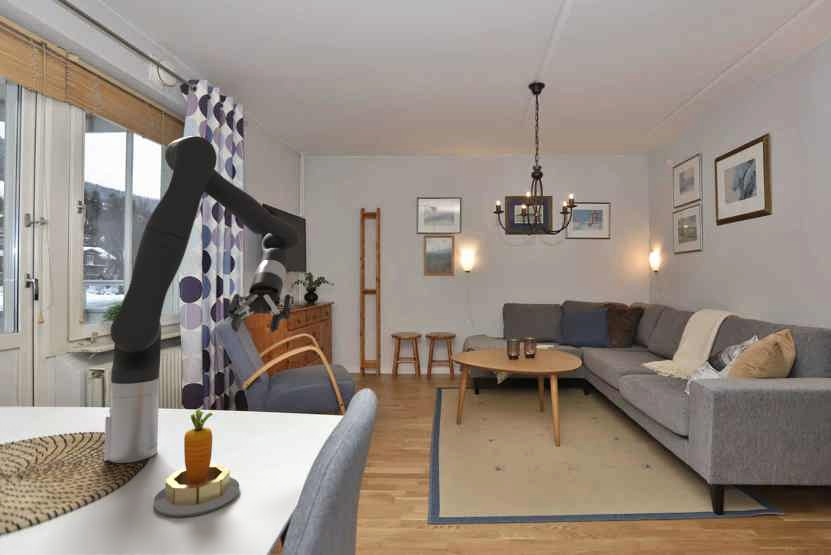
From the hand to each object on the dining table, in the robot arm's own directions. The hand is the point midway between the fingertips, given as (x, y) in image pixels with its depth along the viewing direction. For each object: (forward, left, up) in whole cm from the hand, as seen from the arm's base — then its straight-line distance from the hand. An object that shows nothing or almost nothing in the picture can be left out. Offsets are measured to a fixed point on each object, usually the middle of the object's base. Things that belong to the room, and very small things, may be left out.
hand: (253, 329), depth 101 cm
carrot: (-3, -20, -28) cm, 35 cm away
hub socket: (-3, -21, -29) cm, 35 cm away
